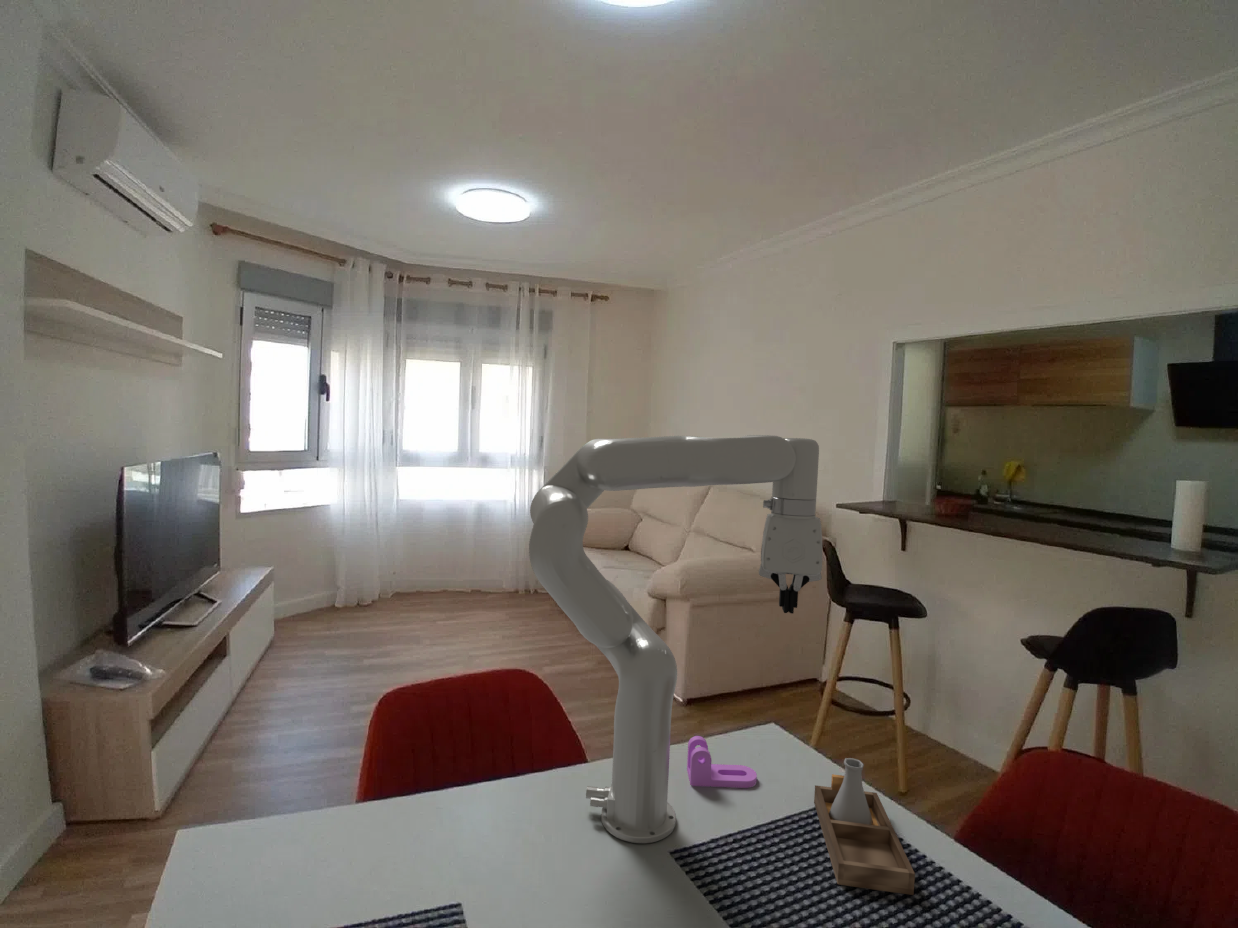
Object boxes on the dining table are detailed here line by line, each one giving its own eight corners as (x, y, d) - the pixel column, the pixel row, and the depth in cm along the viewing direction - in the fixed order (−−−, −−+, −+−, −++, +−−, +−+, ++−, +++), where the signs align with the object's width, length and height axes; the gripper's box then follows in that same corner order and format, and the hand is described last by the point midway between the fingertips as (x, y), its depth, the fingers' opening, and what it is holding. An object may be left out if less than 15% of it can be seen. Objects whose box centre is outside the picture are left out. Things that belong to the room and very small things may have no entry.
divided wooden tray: (837, 884, 89) (839, 847, 89) (814, 802, 109) (815, 772, 109) (913, 894, 88) (916, 857, 87) (875, 810, 108) (877, 779, 108)
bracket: (690, 786, 113) (692, 750, 113) (686, 769, 119) (688, 735, 118) (759, 788, 113) (761, 752, 113) (752, 772, 119) (754, 737, 119)
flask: (877, 836, 99) (881, 777, 99) (831, 829, 101) (834, 770, 100) (868, 810, 106) (871, 754, 106) (825, 803, 108) (828, 748, 107)
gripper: (751, 508, 104) (746, 613, 105) (842, 513, 102) (835, 621, 102) (748, 503, 111) (743, 602, 112) (833, 508, 109) (827, 608, 110)
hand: (787, 610), depth 107 cm, fingers closed
